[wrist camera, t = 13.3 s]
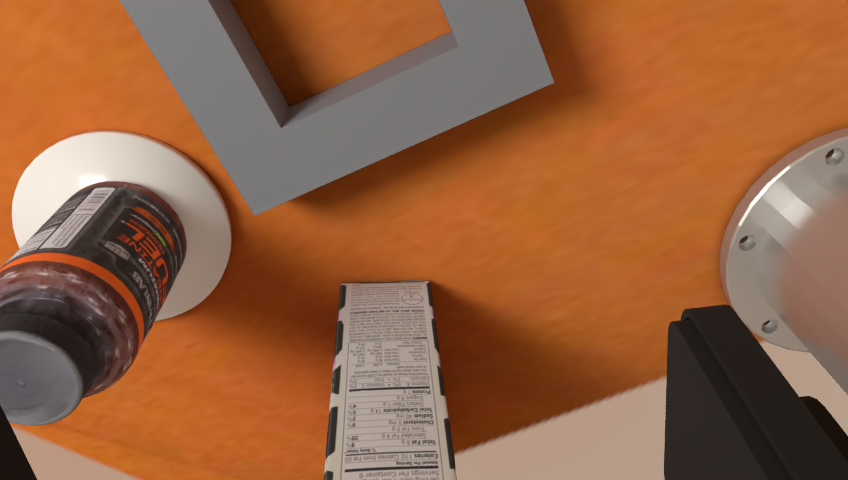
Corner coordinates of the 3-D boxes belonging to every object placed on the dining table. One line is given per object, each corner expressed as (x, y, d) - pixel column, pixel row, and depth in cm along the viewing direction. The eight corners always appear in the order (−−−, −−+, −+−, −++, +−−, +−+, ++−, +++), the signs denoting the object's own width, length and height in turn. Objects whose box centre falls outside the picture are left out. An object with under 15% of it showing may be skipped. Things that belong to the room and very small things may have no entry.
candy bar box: (438, 439, 42) (467, 742, 28) (352, 444, 42) (335, 751, 27) (436, 273, 37) (470, 537, 22) (338, 277, 37) (307, 546, 22)
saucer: (269, 270, 36) (268, 276, 36) (101, 342, 38) (97, 349, 37) (156, 93, 32) (152, 97, 31) (-29, 183, 33) (-36, 188, 33)
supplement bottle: (215, 256, 35) (149, 412, 25) (114, 305, 36) (11, 474, 26) (140, 153, 33) (33, 281, 23) (33, 209, 34) (-115, 356, 24)
